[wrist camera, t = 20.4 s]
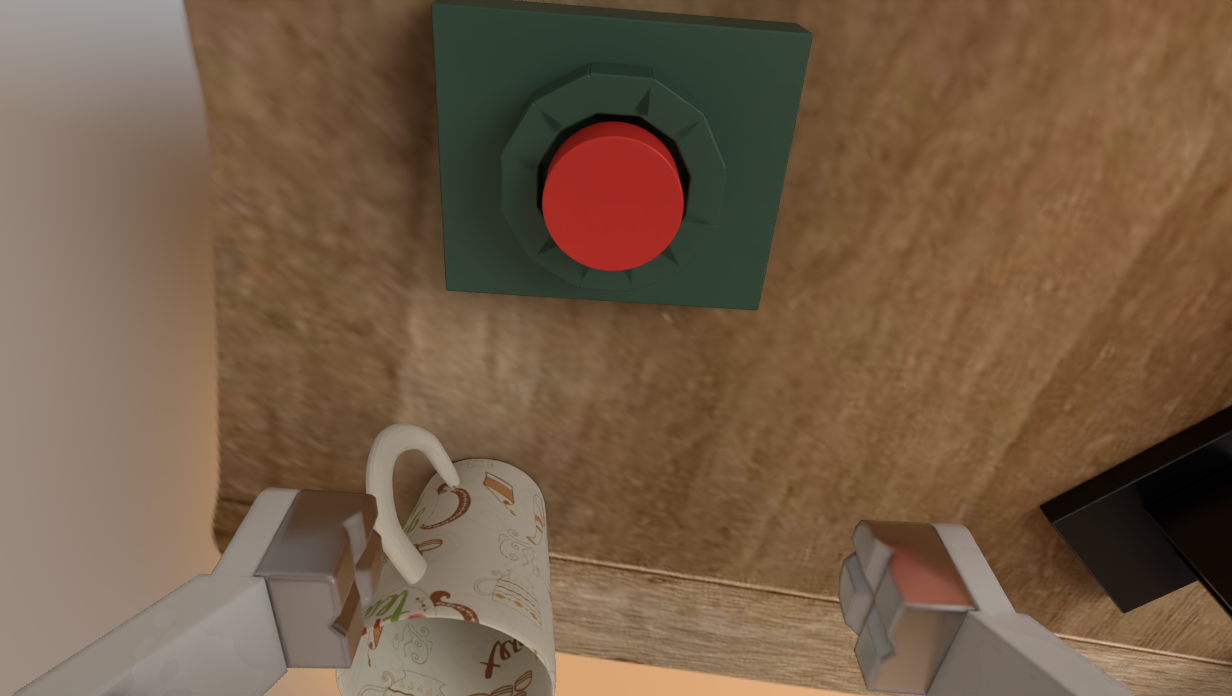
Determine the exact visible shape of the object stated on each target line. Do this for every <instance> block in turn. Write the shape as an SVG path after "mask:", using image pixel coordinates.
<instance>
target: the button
mask: <svg viewBox="0 0 1232 696" xmlns="http://www.w3.org/2000/svg"><path fill="white" fill-rule="evenodd" d="M683 206H684V200H683V192H682V187H681V183H680V179H679V174H678V170H677V167H676V164H675V161H674V159H673V157H672V155H671V154H670V152H669V151H668V149H667V148H666V146H665V145H664V144H663V143H662V142H661V141H660V140H659V139H658V138H657V137H656V136H654V135H653V134H652V133H650V132H649V131H647V130H645V129H643V128H641V127H639V126H636V125H633V124H630V123H625V122H618V121H608V122H600V123H596V124H592V125H589V126H587V127H584V128H582V129H580V130H579V131H577V132H575V133H574V134H573V135H571V136H570V137H569V138H567V139H566V140H565V141H564V143H563V144H562V145H561V146H560V147H559V149H558V150H557V151H556V153H555V155H554V157H553V158H552V160H551V163H550V166H549V169H548V173H547V177H546V182H545V186H544V190H543V197H542V211H543V216H544V221H545V224H546V227H547V229H548V231H549V233H550V235H551V237H552V238H553V240H554V241H555V243H556V244H557V245H558V246H559V248H560V249H561V250H562V251H563V252H565V253H566V254H567V255H568V256H569V257H571V258H572V259H574V260H575V261H577V262H579V263H581V264H583V265H586V266H588V267H591V268H595V269H599V270H606V271H620V270H627V269H631V268H635V267H638V266H640V265H643V264H645V263H647V262H649V261H651V260H652V259H653V258H655V257H656V256H658V255H659V254H660V253H661V252H662V251H663V250H664V249H665V248H666V247H667V246H668V245H669V244H670V242H671V241H672V239H673V238H674V237H675V235H676V233H677V231H678V229H679V226H680V223H681V220H682V215H683Z"/></svg>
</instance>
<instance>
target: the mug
mask: <svg viewBox="0 0 1232 696" xmlns="http://www.w3.org/2000/svg"><path fill="white" fill-rule="evenodd" d="M411 449H415V450H420V451H421V452H423V453H424V454H425V456H426V457H427V458H428V459H429V461H430V462H431V464H432V465H433V467H434V468H435V469H436V471H437V473H436V474H435V475H434V476H433V477H432V478H431V480H430V481H429V482H428V484H427V485H426V487H425V489H424V491H423V492H422V494H421V496H420V498H419V500H418V502H417V504H416V506H415V508H414V510H413V511H412V513H411V515H410V517H409V519H408V521H407V523H406V525H405V527H404V529H402V528H401V525H400V523H399V521H398V518H397V514H396V509H395V505H394V498H393V488H392V475H393V468H394V463H395V461H396V459H397V457H398V456H399V455H400V454H401V453H402V452H404V451H407V450H411ZM366 494H372V495H373V496H375V497H376V502H377V508H378V517H377V520H376V522H375V525H374V528H373V529H374V530H375V531H377V532H378V533H379V534H380V535H381V537H382V546H383V550H384V552H385V553H386V555H387V556H388V559H387V561H386V563H385V565H384V567H383V569H382V570H381V575H380V581H379V585H378V589H377V592H376V595H375V598H374V601H373V602H372V603H370V604H369V605H368V606H367V607H366V608H364V609H363V610H362V613H363V620H364V627H365V628H364V630H363V633H362V636H361V639H360V642H359V645H358V648H357V651H356V654H355V656H354V659H353V662H352V665H351V668H350V669H337V668H336V682H337V686H338V689H339V691H340V694H341V695H342V696H554V694H555V688H556V660H555V645H554V630H553V615H552V600H551V585H550V570H549V554H548V539H547V524H546V511H545V503H544V499H543V496H542V493H541V491H540V489H539V488H538V486H537V485H536V483H535V482H534V481H533V480H532V479H531V478H530V477H529V476H528V475H527V474H525V473H524V472H523V471H521V470H519V469H518V468H516V467H514V466H512V465H509V464H507V463H504V462H501V461H497V460H491V459H467V460H462V461H458V462H455V463H452V462H451V460H450V458H449V456H448V455H447V453H446V451H445V450H444V448H443V446H442V445H441V443H440V442H439V441H438V439H437V438H436V437H435V436H434V435H433V434H432V433H430V432H428V431H426V430H425V429H422V428H420V427H418V426H415V425H411V424H406V423H397V424H393V425H390V426H388V427H386V428H385V429H384V430H382V431H381V432H380V433H379V434H378V435H377V437H376V438H375V440H374V442H373V444H372V447H371V450H370V453H369V457H368V462H367V469H366Z"/></svg>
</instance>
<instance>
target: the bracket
mask: <svg viewBox="0 0 1232 696" xmlns="http://www.w3.org/2000/svg"><path fill="white" fill-rule="evenodd" d="M1040 509H1041V510H1042V512H1043V513H1044V515H1045V516H1046V517H1047V519H1048V520H1049V522H1050V523H1051V524H1052V526H1053V527H1054V528H1055V529H1056V531H1057V532H1058V533H1059V534H1060V536H1061V537H1062V538H1063V539H1064V541H1065V542H1066V543H1067V544H1068V546H1069V547H1070V548H1071V549H1072V551H1073V552H1074V553H1075V554H1076V556H1077V557H1078V558H1079V559H1080V561H1081V562H1082V563H1083V564H1084V566H1085V567H1086V568H1087V569H1088V571H1089V572H1090V573H1091V574H1092V576H1093V577H1094V578H1095V579H1096V581H1097V582H1098V583H1099V584H1100V586H1101V587H1102V588H1103V589H1104V591H1105V592H1106V593H1107V594H1108V596H1109V597H1110V598H1111V599H1112V601H1113V602H1114V603H1115V604H1116V606H1117V607H1118V608H1119V609H1120V611H1121V612H1122V613H1127V612H1129V611H1131V610H1133V609H1135V608H1138V607H1140V606H1142V605H1144V604H1146V603H1149V602H1151V601H1153V600H1155V599H1158V598H1160V597H1162V596H1164V595H1166V594H1169V593H1171V592H1173V591H1175V590H1178V589H1180V588H1182V587H1184V586H1186V585H1189V584H1191V583H1193V582H1195V581H1197V580H1198V581H1199V582H1200V584H1201V585H1202V586H1203V587H1204V588H1205V589H1206V590H1207V592H1208V593H1209V594H1210V595H1211V596H1212V597H1213V599H1214V600H1215V601H1216V602H1217V603H1218V604H1219V606H1220V607H1221V608H1222V609H1223V610H1224V611H1225V613H1226V614H1227V615H1228V616H1229V617H1230V618H1231V620H1232V407H1230V408H1228V409H1226V410H1224V411H1222V412H1220V413H1218V414H1216V415H1214V416H1213V417H1211V418H1209V419H1207V420H1205V421H1203V422H1201V423H1199V424H1197V425H1195V426H1193V427H1192V428H1190V429H1188V430H1186V431H1184V432H1182V433H1180V434H1178V435H1176V436H1174V437H1172V438H1171V439H1169V440H1167V441H1165V442H1163V443H1161V444H1159V445H1157V446H1155V447H1153V448H1151V449H1150V450H1148V451H1146V452H1144V453H1142V454H1140V455H1138V456H1136V457H1134V458H1132V459H1130V460H1129V461H1127V462H1125V463H1123V464H1121V465H1119V466H1117V467H1115V468H1113V469H1111V470H1109V471H1107V472H1106V473H1104V474H1102V475H1100V476H1098V477H1096V478H1094V479H1092V480H1090V481H1088V482H1086V483H1085V484H1083V485H1081V486H1079V487H1077V488H1075V489H1073V490H1071V491H1069V492H1067V493H1065V494H1064V495H1062V496H1060V497H1058V498H1056V499H1054V500H1052V501H1050V502H1048V503H1046V504H1044V505H1043V506H1041V507H1040Z"/></svg>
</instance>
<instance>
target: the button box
mask: <svg viewBox="0 0 1232 696" xmlns="http://www.w3.org/2000/svg"><path fill="white" fill-rule="evenodd" d="M431 11H432V30H433V49H434V68H435V87H436V106H437V126H438V145H439V164H440V183H441V202H442V221H443V240H444V260H445V279H446V290H447V291H461V292H477V293H493V294H508V295H524V296H540V297H555V298H571V299H587V300H603V301H618V302H634V303H650V304H665V305H681V306H697V307H712V308H728V309H744V310H758V307H759V302H760V297H761V292H762V287H763V282H764V277H765V272H766V267H767V262H768V257H769V252H770V247H771V242H772V237H773V232H774V227H775V222H776V217H777V212H778V207H779V202H780V197H781V192H782V187H783V182H784V177H785V172H786V167H787V162H788V157H789V152H790V147H791V142H792V137H793V132H794V127H795V122H796V117H797V112H798V107H799V102H800V97H801V92H802V87H803V82H804V77H805V72H806V67H807V62H808V57H809V52H810V47H811V42H812V37H813V35H812V33H811V32H809V31H808V30H806V29H805V28H803V27H802V26H800V25H799V24H797V23H784V22H772V21H759V20H747V19H735V18H722V17H710V16H698V15H685V14H673V13H660V12H648V11H636V10H623V9H611V8H599V7H586V6H574V5H562V4H549V3H537V2H524V1H512V0H436V1H435V2H433V3H432V4H431ZM608 121H618V122H625V123H630V124H633V125H636V126H639V127H641V128H643V129H645V130H647V131H649V132H650V133H652V134H653V135H654V136H656V137H657V138H658V139H659V140H660V141H661V142H662V143H663V144H664V145H665V146H666V148H667V149H668V151H669V152H670V154H671V155H672V157H673V159H674V161H675V164H676V167H677V170H678V174H679V179H680V183H681V187H682V192H683V200H684V206H683V215H682V220H681V223H680V226H679V229H678V231H677V233H676V235H675V237H674V238H673V239H672V241H671V242H670V244H669V245H668V246H667V247H666V248H665V249H664V250H663V251H662V252H661V253H660V254H659V255H658V256H656V257H655V258H653V259H652V260H651V261H649V262H647V263H645V264H643V265H640V266H638V267H635V268H631V269H627V270H620V271H606V270H599V269H595V268H591V267H588V266H586V265H583V264H581V263H579V262H577V261H575V260H574V259H572V258H571V257H569V256H568V255H567V254H566V253H565V252H563V251H562V250H561V249H560V248H559V246H558V245H557V244H556V243H555V241H554V240H553V238H552V237H551V235H550V233H549V231H548V229H547V227H546V224H545V221H544V216H543V211H542V197H543V190H544V186H545V182H546V177H547V173H548V169H549V166H550V163H551V160H552V158H553V157H554V155H555V153H556V151H557V150H558V149H559V147H560V146H561V145H562V144H563V143H564V141H565V140H566V139H567V138H569V137H570V136H571V135H573V134H574V133H575V132H577V131H579V130H580V129H582V128H584V127H587V126H589V125H592V124H596V123H600V122H608Z"/></svg>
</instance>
